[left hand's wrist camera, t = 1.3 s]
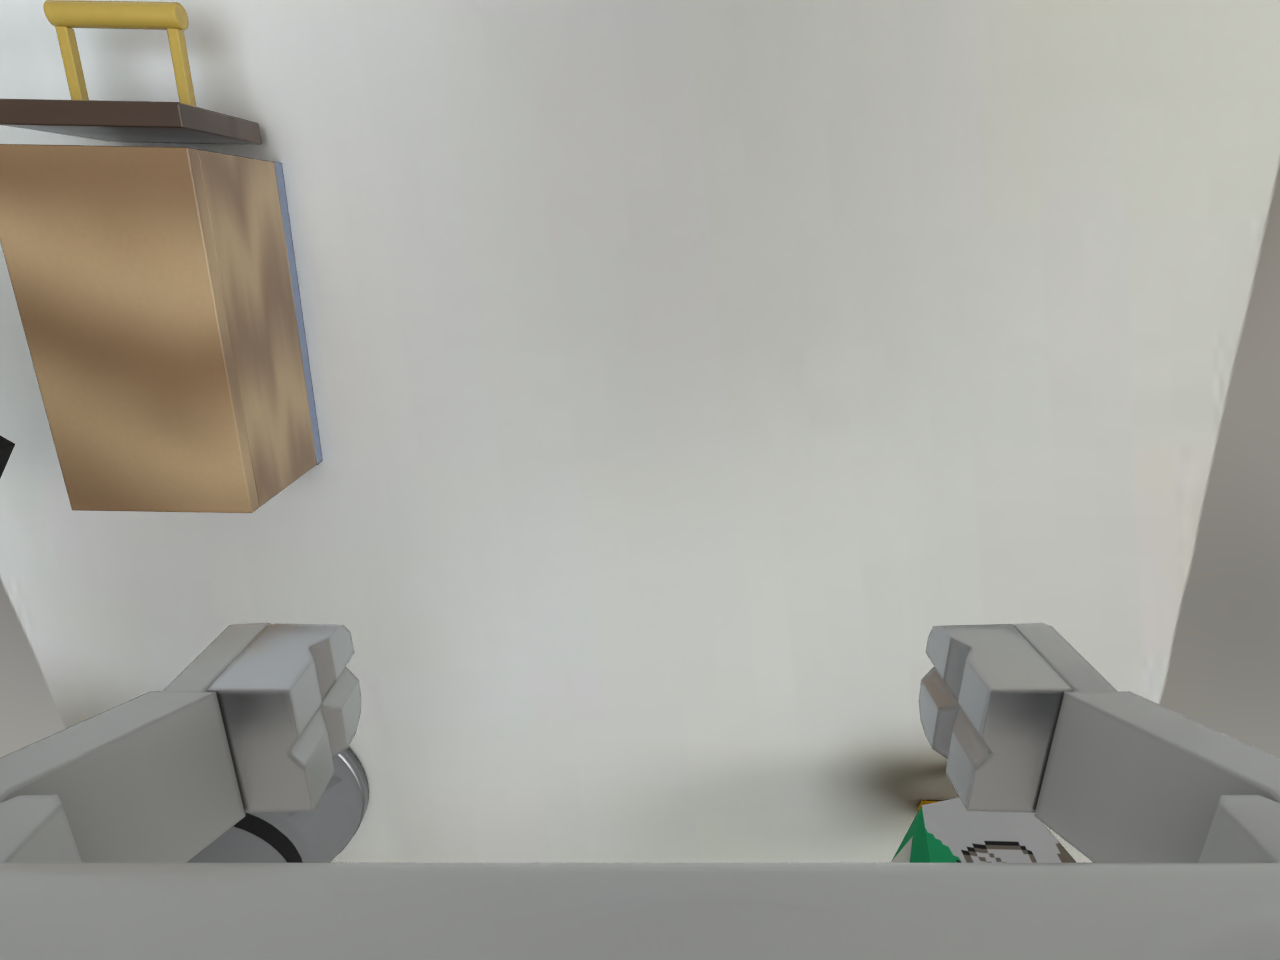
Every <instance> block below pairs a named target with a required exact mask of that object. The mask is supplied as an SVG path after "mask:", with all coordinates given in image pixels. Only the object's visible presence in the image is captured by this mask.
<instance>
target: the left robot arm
mask: <svg viewBox="0 0 1280 960" xmlns="http://www.w3.org/2000/svg"><path fill="white" fill-rule="evenodd" d="M353 654H354V648H353V643H352V638H351V633H350V631H349V630H348V629H347V628H346V627H345V626H344V625H320V624H270V623H245V624H235V625H229V626H228V627H227V628H226V629H225V630H224V631H223V632H222V633H221V634H220V635H219V636H218V637H217V638H216V639H215V640H214V641H213V642H212V643H211V644H210V645H209V646H208V647H207V648H206V649H205V650H204V651H203V652H202V653H201V654H200V655H199V656H198V657H197V658H196V659H195V660H194V661H193V662H192V663H191V664H190V665H189V666H188V667H187V668H186V669H185V670H184V671H183V672H182V673H181V674H180V675H179V676H177V677H176V678H175V679H174V680H173V681H172V682H171V683H170V684H169V685H168V686H167V687H166V688H165V689H164V690H163V691H162V692H148V693H146V694H144V695H141V696H139V697H137V698H135V699H132V700H130V701H128V702H126V703H123V704H121V705H119V706H116V707H114V708H112V709H110V710H107V711H105V712H103V713H101V714H98V715H96V716H94V717H92V718H89V719H87V720H85V721H83V722H80V723H78V724H76V725H74V726H71V727H69V728H67V729H64V730H62V731H60V732H58V733H55V734H53V735H51V736H49V737H46V738H44V739H42V740H40V741H37V742H35V743H33V744H31V745H28V746H26V747H24V748H22V749H19V750H17V751H15V752H12V753H10V754H8V755H6V756H4V757H1V758H0V960H1280V758H1278V757H1276V756H1274V755H1272V754H1269V753H1267V752H1265V751H1263V750H1260V749H1258V748H1256V747H1254V746H1251V745H1249V744H1247V743H1245V742H1242V741H1240V740H1238V739H1235V738H1233V737H1231V736H1229V735H1227V734H1224V733H1222V732H1220V731H1218V730H1215V729H1213V728H1211V727H1209V726H1206V725H1204V724H1202V723H1199V722H1197V721H1195V720H1193V719H1190V718H1188V717H1186V716H1184V715H1181V714H1179V713H1177V712H1175V711H1172V710H1170V709H1168V708H1166V707H1163V706H1161V705H1159V704H1157V703H1154V702H1152V701H1150V700H1148V699H1145V698H1143V697H1141V696H1139V695H1136V694H1134V693H1132V692H1118V691H1117V690H1116V689H1115V688H1114V687H1113V686H1112V685H1111V684H1110V683H1109V682H1108V681H1107V680H1106V679H1105V678H1104V677H1103V676H1102V675H1101V674H1100V673H1099V672H1098V671H1097V670H1095V669H1094V668H1093V667H1092V666H1091V665H1090V664H1089V663H1088V662H1087V661H1086V660H1085V659H1084V658H1083V657H1082V656H1081V655H1080V654H1079V653H1078V652H1077V651H1076V650H1075V649H1074V648H1073V647H1072V646H1071V645H1070V644H1069V643H1068V642H1067V641H1066V640H1065V639H1064V638H1063V637H1062V636H1061V635H1060V634H1059V633H1058V632H1057V631H1056V630H1055V629H1054V628H1053V627H1052V626H1049V625H1047V624H1044V623H1023V624H993V625H953V626H933V628H932V630H931V632H930V634H929V636H928V642H927V647H926V654H927V655H928V657H929V659H930V660H931V662H932V663H933V665H934V667H933V668H932V669H931V670H930V671H929V672H928V673H927V674H926V675H925V677H924V678H923V679H922V680H921V686H920V694H919V708H920V718H921V723H922V726H923V729H924V733H925V736H926V737H927V739H928V741H929V743H930V745H931V747H932V749H934V750H935V751H937V752H938V753H940V754H941V755H943V756H944V757H946V758H947V759H948V761H947V767H946V774H947V776H948V778H949V780H950V782H951V783H952V785H953V787H954V789H955V790H956V792H957V794H958V796H959V798H960V799H961V801H962V803H963V805H964V807H965V808H966V810H967V811H987V812H1023V813H1035V815H1034V816H1035V817H1036V818H1038V819H1039V820H1040V821H1041V822H1043V823H1044V824H1045V825H1047V826H1048V827H1049V828H1050V829H1052V830H1053V831H1054V832H1056V833H1057V834H1058V835H1059V836H1061V837H1062V838H1063V839H1064V840H1066V841H1067V842H1068V843H1070V844H1071V845H1072V846H1073V847H1075V848H1076V849H1077V850H1078V851H1080V852H1081V853H1082V854H1084V855H1085V856H1086V857H1087V858H1089V859H1090V860H1091V861H1092V862H1094V863H186V862H188V861H189V860H190V859H192V858H193V857H194V856H195V855H197V854H198V853H199V852H201V851H202V850H203V849H204V848H206V847H207V846H208V845H209V844H211V843H212V842H213V841H215V840H216V839H217V838H218V837H220V836H221V835H222V834H223V833H225V832H226V831H227V830H229V829H230V828H231V827H232V826H234V825H235V824H236V823H238V822H239V821H240V820H241V819H243V818H244V817H245V813H257V812H292V811H313V810H314V808H315V807H316V805H317V803H318V801H319V799H320V798H321V796H322V794H323V792H324V791H325V789H326V787H327V785H328V783H329V782H330V780H331V778H332V776H333V774H334V767H333V761H332V759H333V758H334V757H336V756H337V755H339V754H340V753H342V752H343V751H345V750H346V749H348V747H349V745H350V743H351V741H352V739H353V737H354V735H355V733H356V730H357V725H358V721H359V717H360V713H361V692H360V685H359V680H358V679H357V678H356V677H355V675H354V674H353V673H352V672H351V671H350V670H349V669H348V668H347V667H346V665H347V663H348V662H349V660H350V659H351V657H352V655H353Z"/></svg>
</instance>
